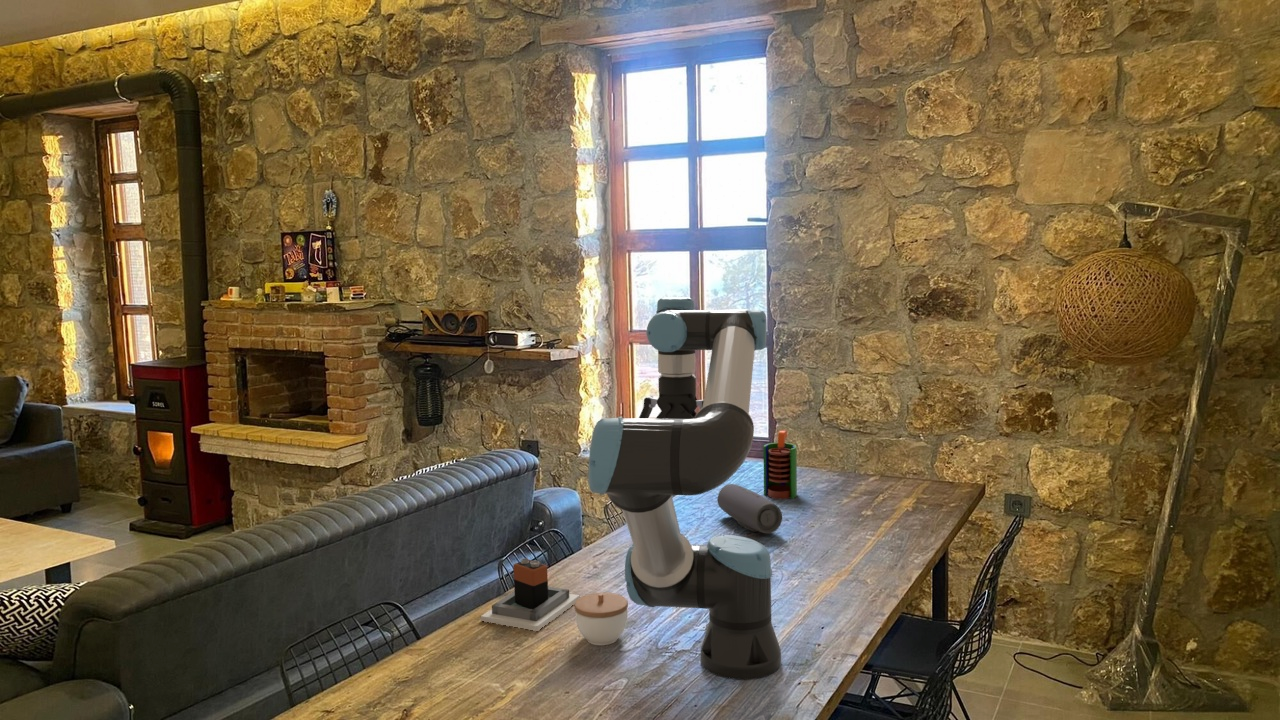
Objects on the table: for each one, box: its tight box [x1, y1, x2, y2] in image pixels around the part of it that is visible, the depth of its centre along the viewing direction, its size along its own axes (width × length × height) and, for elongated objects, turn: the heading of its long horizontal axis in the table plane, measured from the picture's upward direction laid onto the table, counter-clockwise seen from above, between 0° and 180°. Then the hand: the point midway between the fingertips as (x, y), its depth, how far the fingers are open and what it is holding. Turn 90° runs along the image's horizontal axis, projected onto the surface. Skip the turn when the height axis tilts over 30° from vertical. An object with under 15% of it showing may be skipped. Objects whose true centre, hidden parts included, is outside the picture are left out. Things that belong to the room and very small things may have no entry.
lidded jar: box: [573, 592, 629, 647], centre depth 184 cm, size 11×11×9 cm
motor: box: [762, 430, 798, 500], centre depth 285 cm, size 10×9×20 cm
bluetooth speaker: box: [717, 483, 783, 534], centre depth 255 cm, size 23×9×10 cm, turn 22°
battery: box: [513, 557, 549, 609], centre depth 199 cm, size 4×7×10 cm, turn 47°
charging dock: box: [480, 586, 580, 632], centre depth 199 cm, size 18×14×3 cm
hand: (678, 477), depth 186 cm, fingers open, 13 cm apart
